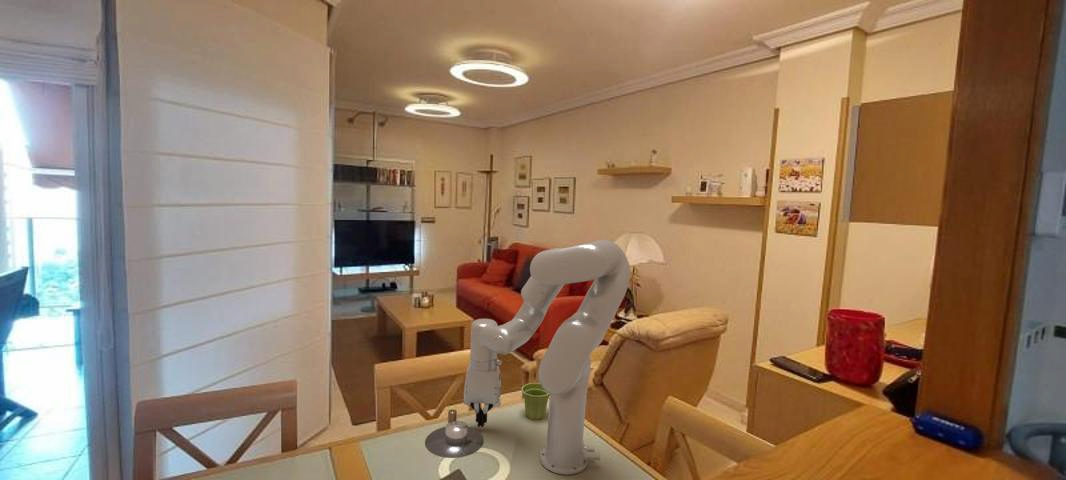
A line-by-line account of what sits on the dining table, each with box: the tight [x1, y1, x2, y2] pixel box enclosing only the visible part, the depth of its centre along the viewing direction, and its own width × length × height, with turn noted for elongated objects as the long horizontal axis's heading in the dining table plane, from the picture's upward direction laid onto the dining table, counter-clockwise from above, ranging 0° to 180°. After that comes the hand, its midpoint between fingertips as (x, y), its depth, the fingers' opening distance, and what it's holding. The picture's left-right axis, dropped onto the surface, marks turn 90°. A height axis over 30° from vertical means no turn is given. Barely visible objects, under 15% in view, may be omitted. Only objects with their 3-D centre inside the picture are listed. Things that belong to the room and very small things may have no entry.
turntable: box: [424, 409, 485, 459], centre depth 125 cm, size 16×16×6 cm
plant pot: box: [521, 382, 550, 421], centre depth 144 cm, size 9×9×9 cm
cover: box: [445, 420, 469, 446], centre depth 126 cm, size 6×6×4 cm
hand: (481, 424), depth 131 cm, fingers closed
